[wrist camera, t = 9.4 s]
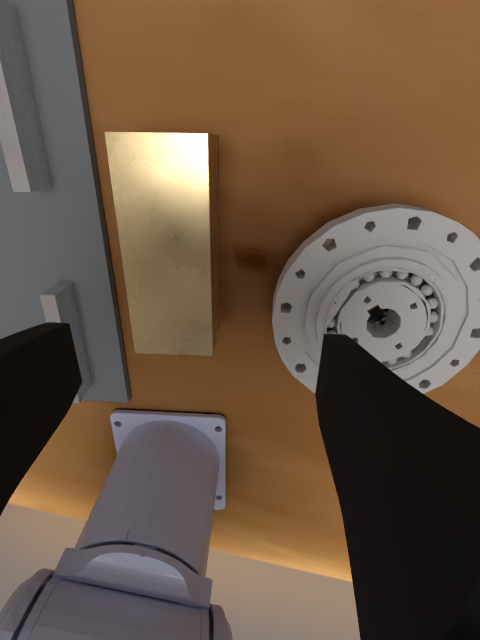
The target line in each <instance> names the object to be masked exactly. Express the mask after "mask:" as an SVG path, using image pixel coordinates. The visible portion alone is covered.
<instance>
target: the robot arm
mask: <svg viewBox="0 0 480 640" xmlns="http://www.w3.org/2000/svg"><path fill="white" fill-rule="evenodd" d="M81 384H82V378H81V373H80V369H79V364H78V360H77V355H76V351H75V346H74V342H73V337H72V333H71V328H70V324H69V323H55V322H48V323H44V324H40V325H37V326H34V327H31V328H28V329H25V330H22V331H20V332H17V333H14V334H12V335H9V336H7V337H4V338H2V339H0V515H1V513H2V512H3V510H4V508H5V506H6V504H7V503H8V501H9V499H10V497H11V496H12V494H13V492H14V491H15V489H16V488H17V486H18V485H19V483H20V481H21V480H22V478H23V477H24V475H25V474H26V473H27V471H28V470H29V468H30V467H31V465H32V464H33V462H34V461H35V459H36V458H37V457H38V455H39V454H40V452H41V451H42V449H43V448H44V446H45V445H46V444H47V442H48V441H49V439H50V438H51V436H52V435H53V433H54V432H55V430H56V429H57V427H58V426H59V424H60V423H61V421H62V420H63V418H64V417H65V415H66V414H67V412H68V411H69V409H70V407H71V405H72V403H73V401H74V399H75V397H76V395H77V393H78V390H79V388H80V386H81ZM315 395H316V403H317V412H318V419H319V426H320V430H321V434H322V437H323V441H324V445H325V449H326V453H327V457H328V460H329V464H330V468H331V472H332V476H333V479H334V483H335V487H336V491H337V494H338V498H339V503H340V507H341V512H342V516H343V522H344V528H345V535H346V541H347V547H348V553H349V560H350V567H351V573H352V580H353V587H354V594H355V601H356V608H357V615H358V623H359V631H360V638H361V640H480V428H478V427H477V426H475V425H473V424H471V423H469V422H468V421H466V420H464V419H462V418H461V417H459V416H457V415H456V414H454V413H452V412H451V411H449V410H447V409H446V408H444V407H442V406H441V405H439V404H438V403H436V402H435V401H433V400H431V399H430V398H428V397H427V396H425V395H424V394H423V393H421V392H420V391H418V390H417V389H415V388H414V387H413V386H411V385H410V384H408V383H407V382H406V381H404V380H403V379H402V378H400V377H399V376H398V375H396V374H395V373H394V372H392V371H391V370H390V369H388V368H387V367H386V366H385V365H383V364H382V363H381V362H380V361H378V360H377V359H376V358H375V357H374V356H372V355H371V354H370V353H369V352H368V351H366V350H365V349H364V348H363V347H361V346H360V345H359V344H358V343H357V342H355V341H354V340H353V339H352V338H350V337H349V336H347V335H344V334H324V336H323V343H322V350H321V357H320V364H319V371H318V378H317V385H316V392H315ZM110 420H111V426H112V431H113V436H114V442H115V447H116V452H117V456H116V459H115V461H114V463H113V465H112V467H111V469H110V472H109V474H108V476H107V478H106V480H105V483H104V485H103V487H102V489H101V491H100V493H99V496H98V498H97V500H96V502H95V504H94V507H93V509H92V511H91V513H90V515H89V517H88V520H87V522H86V524H85V526H84V528H83V531H82V533H81V535H80V537H79V539H78V542H77V544H76V546H75V548H74V549H73V548H66V549H65V551H64V553H63V555H62V557H61V559H60V561H59V563H58V565H57V567H56V569H55V571H54V570H50V569H45V568H44V569H41V570H39V571H38V572H36V573H35V574H34V575H33V576H32V577H31V578H29V579H28V580H26V581H25V582H23V583H22V584H21V585H20V586H19V587H18V588H17V589H16V590H15V592H14V593H13V594H12V596H11V597H10V598H9V600H8V602H7V603H6V604H5V606H4V607H3V609H2V610H1V612H0V640H232V633H231V628H230V625H229V623H228V621H227V619H226V617H225V614H224V611H223V609H222V607H221V606H219V605H214V604H210V597H211V588H212V580H211V579H209V578H206V577H205V574H206V567H207V559H208V551H209V544H210V536H211V528H212V520H213V512H214V510H222V509H224V508H225V505H226V419H225V417H224V416H222V415H216V414H196V413H176V412H156V411H136V410H114V411H113V412H112V413H111V415H110ZM117 421H118V422H120V423H118V422H117ZM217 426H219V427H221V428H217Z"/></svg>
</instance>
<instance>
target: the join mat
mask: <svg viewBox="0 0 480 640" xmlns="http://www.w3.org/2000/svg"><path fill="white" fill-rule="evenodd" d="M6 1H8V2H10V3H12V4H13V5H15V6H17V8H18V13H19V18H20V23H21V28H22V33H23V38H24V43H25V47H26V52H27V57H28V62H29V67H30V72H31V77H32V82H33V87H34V92H35V97H36V102H37V107H38V112H39V117H40V121H41V126H42V131H43V136H44V141H45V146H46V151H47V156H48V161H49V166H50V171H51V176H52V181H53V186H54V187H53V188H48V189H43V190H39V191H34V192H13V188H12V184H11V180H10V176H9V173H8V169H7V165H6V161H5V157H4V153H3V149H2V145H1V141H0V339H2V338H4V337H7V336H9V335H12V334H14V333H17V332H20V331H22V330H25V329H28V328H31V327H34V326H37V325H40V324H44V323H46V319H45V315H44V311H43V308H42V304H41V300H40V296H39V295H40V294H41V293H42V292H44V291H45V290H47V289H48V288H50V287H51V286H53V285H54V284H56V283H57V282H58V281H69V282H73V284H74V289H75V294H76V299H77V304H78V309H79V314H80V319H81V324H82V329H83V334H84V339H85V344H86V349H87V353H88V358H89V363H90V368H91V373H92V378H93V385H92V386H91V387H90V389H89V390H88V392H87V393H86V395H85V396H84V398H83V399H82V400H81V401H100V402H120V403H128V402H129V400H130V398H131V393H130V386H129V380H128V373H127V366H126V359H125V352H124V346H123V339H122V332H121V325H120V319H119V312H118V305H117V298H116V292H115V285H114V278H113V271H112V265H111V258H110V251H109V244H108V237H107V231H106V224H105V217H104V210H103V204H102V197H101V190H100V183H99V177H98V170H97V163H96V156H95V150H94V143H93V136H92V129H91V123H90V116H89V109H88V102H87V95H86V89H85V82H84V75H83V68H82V62H81V55H80V48H79V41H78V35H77V28H76V21H75V14H74V8H73V1H72V0H6Z"/></svg>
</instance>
